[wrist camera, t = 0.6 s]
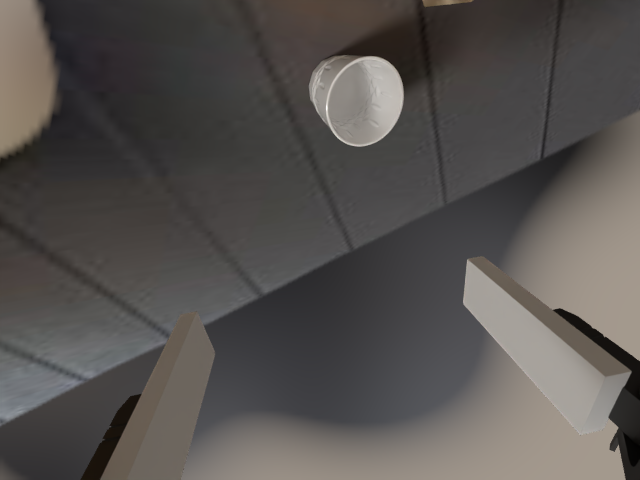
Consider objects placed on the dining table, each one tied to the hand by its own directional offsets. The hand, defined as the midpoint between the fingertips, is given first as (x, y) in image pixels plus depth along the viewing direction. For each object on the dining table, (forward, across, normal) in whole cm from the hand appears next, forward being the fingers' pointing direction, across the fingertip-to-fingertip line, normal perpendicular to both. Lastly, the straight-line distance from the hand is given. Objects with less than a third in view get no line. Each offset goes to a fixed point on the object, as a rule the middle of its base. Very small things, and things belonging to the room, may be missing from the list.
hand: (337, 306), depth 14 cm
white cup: (+28, +6, +10) cm, 31 cm away
